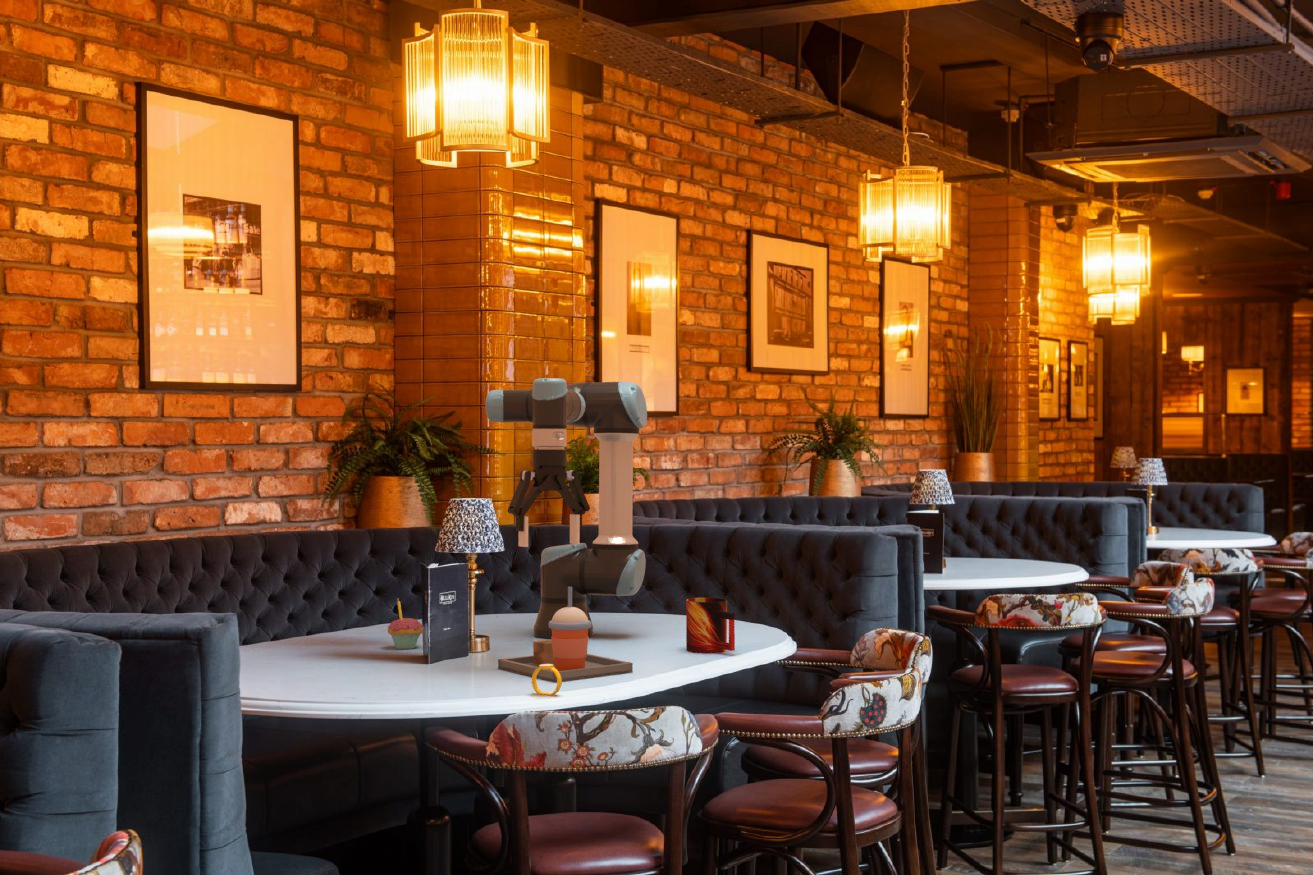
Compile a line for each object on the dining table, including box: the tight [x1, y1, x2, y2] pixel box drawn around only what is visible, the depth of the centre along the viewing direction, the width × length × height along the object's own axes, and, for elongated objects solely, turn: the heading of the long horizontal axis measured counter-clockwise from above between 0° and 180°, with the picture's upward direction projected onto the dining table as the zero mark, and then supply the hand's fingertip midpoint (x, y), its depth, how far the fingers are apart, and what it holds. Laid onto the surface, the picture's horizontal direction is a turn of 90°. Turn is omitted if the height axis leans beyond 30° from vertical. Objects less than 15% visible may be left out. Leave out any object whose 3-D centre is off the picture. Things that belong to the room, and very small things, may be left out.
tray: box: [497, 653, 634, 683], centre depth 297 cm, size 22×20×2 cm
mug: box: [685, 597, 736, 655], centre depth 326 cm, size 10×14×12 cm
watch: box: [531, 664, 562, 696], centre depth 269 cm, size 6×3×6 cm, turn 67°
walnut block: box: [532, 638, 555, 666], centre depth 302 cm, size 5×5×5 cm
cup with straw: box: [549, 587, 592, 671], centre depth 292 cm, size 9×9×18 cm
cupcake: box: [387, 597, 424, 650], centre depth 330 cm, size 9×8×12 cm
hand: (549, 545), depth 302 cm, fingers open, 13 cm apart
